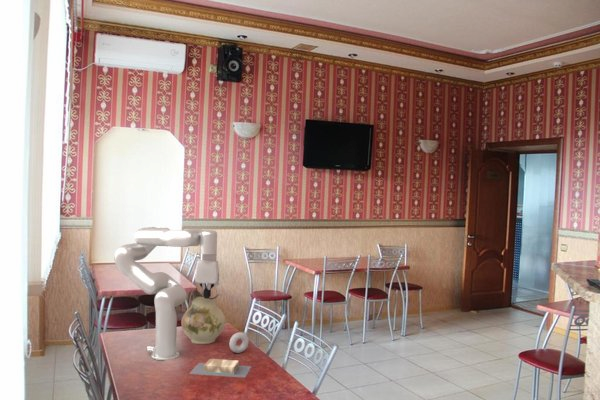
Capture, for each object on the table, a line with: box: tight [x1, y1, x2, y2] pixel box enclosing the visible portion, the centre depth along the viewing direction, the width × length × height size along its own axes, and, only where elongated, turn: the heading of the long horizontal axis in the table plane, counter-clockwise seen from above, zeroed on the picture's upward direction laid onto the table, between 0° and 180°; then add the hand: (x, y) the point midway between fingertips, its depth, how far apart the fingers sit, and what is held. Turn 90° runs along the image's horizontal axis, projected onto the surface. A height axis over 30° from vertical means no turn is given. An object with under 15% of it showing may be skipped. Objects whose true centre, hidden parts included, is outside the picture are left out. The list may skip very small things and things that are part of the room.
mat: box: [189, 362, 253, 379], centre depth 222 cm, size 24×14×1 cm, turn 84°
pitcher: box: [180, 289, 226, 345], centre depth 266 cm, size 22×24×25 cm
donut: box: [228, 331, 250, 354], centre depth 248 cm, size 10×3×10 cm, turn 121°
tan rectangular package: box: [204, 358, 240, 375], centre depth 222 cm, size 3×9×13 cm
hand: (206, 298), depth 233 cm, fingers closed
